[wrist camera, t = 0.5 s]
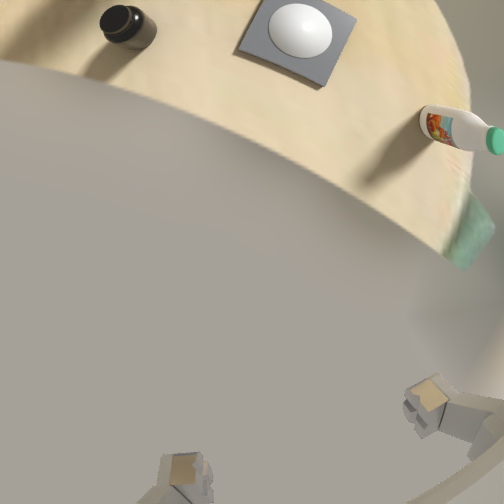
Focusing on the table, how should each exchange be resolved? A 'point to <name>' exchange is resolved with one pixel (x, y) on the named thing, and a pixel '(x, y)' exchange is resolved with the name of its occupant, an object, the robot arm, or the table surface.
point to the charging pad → (299, 36)
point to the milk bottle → (460, 129)
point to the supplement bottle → (128, 27)
